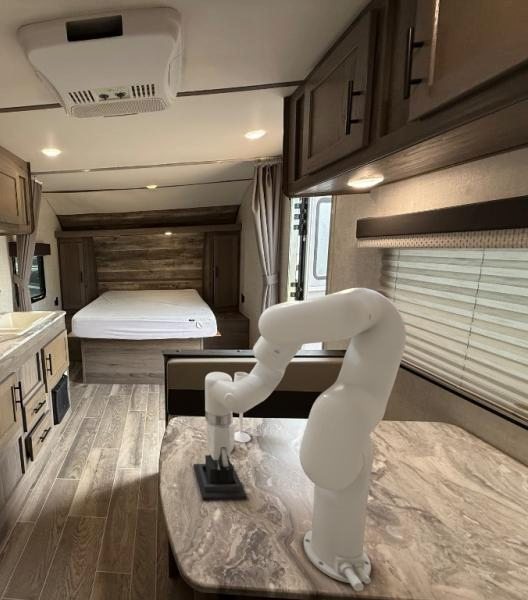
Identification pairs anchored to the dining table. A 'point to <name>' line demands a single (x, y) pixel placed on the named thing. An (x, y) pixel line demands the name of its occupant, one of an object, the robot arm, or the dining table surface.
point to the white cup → (232, 434)
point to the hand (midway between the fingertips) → (218, 471)
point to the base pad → (218, 486)
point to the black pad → (212, 466)
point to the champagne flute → (241, 415)
